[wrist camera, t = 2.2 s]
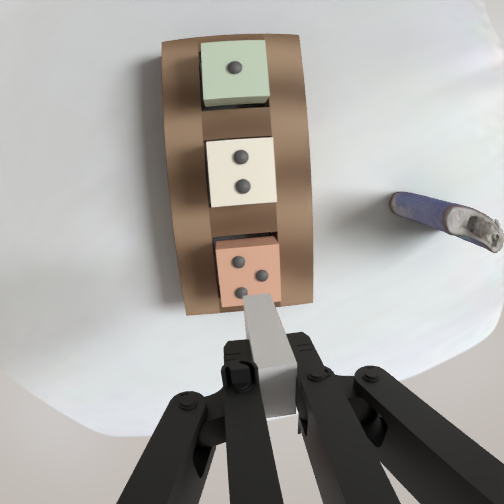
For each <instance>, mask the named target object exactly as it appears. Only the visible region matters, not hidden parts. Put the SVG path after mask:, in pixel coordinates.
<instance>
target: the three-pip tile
mask: <svg viewBox="0 0 504 504" xmlns="http://www.w3.org/2000/svg"><path fill="white" fill-rule="evenodd" d="M216 258H217V267H218V276H219V285H220V294H221V302H222V307H231V306H241V305H243V296H246V295H256V294H266V293H270V295H271V297H272V300H273V302H279V301H281V278H280V253H279V243H278V242H277V240H276V239H275V238H274V236H268V237H257V238H246V239H234V240H223V241H216Z"/></svg>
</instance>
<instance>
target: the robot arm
mask: <svg viewBox="0 0 504 504" xmlns="http://www.w3.org/2000/svg"><path fill="white" fill-rule="evenodd" d="M243 305H244V316H245V327H246V338H247V339H245V340H235V341H228V342H227V343H226V345H225V346H224V365H223V366H222V369H221V375H222V381H223V387H222V389H221V390H220V391H218V392H216V393H215V394H212V395H209V396H206V397H204V396H203V395H201V394H200V393H197V392H193V391H186V392H182V393H179V394H177V395H175V396H174V397H173V398H172V399H171V400H170V402H169V404H168V406H167V408H166V410H165V412H164V414H163V416H162V418H161V419H160V421H159V423H158V425H157V427H156V429H155V431H154V433H153V435H152V437H151V438H150V440H149V442H148V444H147V446H146V448H145V450H144V452H143V454H142V456H141V458H140V459H139V461H138V463H137V465H136V467H135V469H134V471H133V473H132V475H131V477H130V479H129V481H128V482H127V484H126V486H125V488H124V490H123V492H122V494H121V496H120V498H119V500H118V502H117V503H116V504H198V503H199V500H200V497H201V494H202V490H203V488H204V484H205V481H206V478H207V475H208V472H209V469H210V465H211V462H212V459H213V455H214V452H215V449H216V445H218V444H221V443H224V442H226V448H227V465H228V480H229V494H230V504H284V503H283V498H282V494H281V489H280V485H279V480H278V475H277V470H276V465H275V461H274V456H273V450H272V446H271V441H270V436H269V431H268V426H267V421H266V418H270V417H278V416H284V415H291V414H296V407H297V410H298V413H299V419H298V434H300V433H301V432H302V436H303V439H304V442H305V446H306V449H307V452H308V455H309V459H310V462H311V465H312V468H313V472H314V475H315V478H316V481H317V485H318V488H319V491H320V494H321V497H322V501H323V504H401V503H400V501H399V499H398V497H397V495H396V493H395V491H394V489H393V487H392V485H391V483H390V481H389V479H388V477H387V475H386V473H385V471H384V469H383V467H382V465H381V463H382V464H383V465H384V466H385V467H386V468H387V469H388V470H389V471H390V472H391V473H392V474H393V476H394V477H395V478H396V479H397V480H398V481H399V482H400V483H401V484H402V485H403V486H404V487H405V488H406V489H407V490H408V491H409V492H410V493H411V494H412V495H413V496H414V498H415V499H416V500H417V501H418V502H419V503H420V504H504V464H503V463H502V462H500V461H499V460H498V459H496V458H495V457H494V456H493V455H491V454H490V453H489V452H487V451H486V450H485V449H483V448H482V447H481V446H480V445H478V444H477V443H476V442H475V441H473V440H472V439H471V438H470V437H468V436H467V435H465V434H464V433H463V432H462V431H461V430H459V429H458V428H457V427H456V426H454V425H453V424H452V423H451V422H449V421H448V420H446V419H445V418H444V417H443V416H442V415H440V414H439V413H438V412H437V411H435V410H434V409H433V408H431V407H430V406H429V405H428V404H426V403H425V402H424V401H423V400H421V399H420V398H419V397H418V396H416V395H415V394H414V393H412V392H411V391H410V390H409V389H408V388H406V387H405V386H404V385H403V384H401V383H400V382H399V381H398V380H396V379H395V378H394V377H393V376H391V375H390V374H389V373H388V372H386V371H385V370H384V369H382V368H380V367H377V366H364V367H361V368H360V369H358V370H357V371H356V373H355V376H339V375H335V374H334V372H333V371H332V370H331V369H330V368H328V367H326V366H324V365H323V363H322V361H321V359H320V357H319V355H318V353H317V351H316V349H315V347H314V345H313V344H312V341H311V339H310V337H309V336H308V335H306V334H305V333H303V332H297V333H290V334H286V333H285V331H284V328H283V326H282V323H281V320H280V318H279V315H278V313H277V310H276V308H275V305H274V302H273V300H272V297H271V295H270V293H266V294H256V295H246V296H243ZM380 462H381V463H380Z"/></svg>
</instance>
